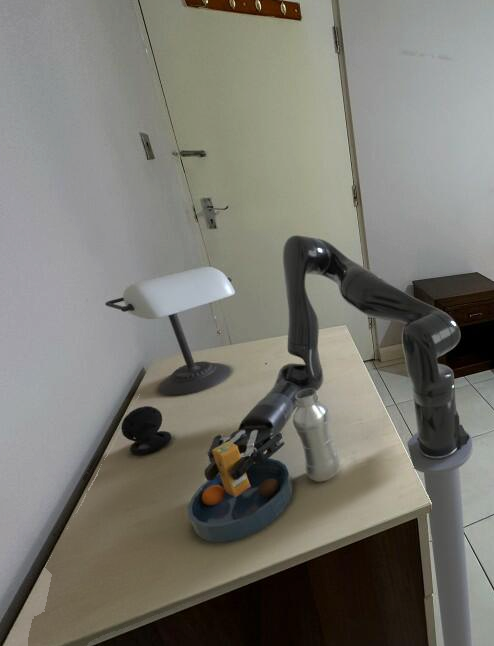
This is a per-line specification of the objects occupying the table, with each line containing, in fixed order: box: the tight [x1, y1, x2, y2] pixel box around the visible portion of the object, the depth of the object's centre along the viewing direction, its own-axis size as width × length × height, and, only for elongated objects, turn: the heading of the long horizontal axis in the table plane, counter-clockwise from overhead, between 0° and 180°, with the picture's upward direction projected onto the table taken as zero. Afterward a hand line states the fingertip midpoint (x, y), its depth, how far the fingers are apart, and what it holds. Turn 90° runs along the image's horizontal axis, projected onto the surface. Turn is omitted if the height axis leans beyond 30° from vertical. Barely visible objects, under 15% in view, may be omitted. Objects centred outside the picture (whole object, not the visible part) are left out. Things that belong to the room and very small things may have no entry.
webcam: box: [120, 405, 172, 456], centre depth 91 cm, size 8×8×10 cm
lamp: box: [105, 266, 236, 397], centre depth 112 cm, size 26×24×34 cm
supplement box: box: [212, 441, 250, 497], centre depth 75 cm, size 3×3×10 cm
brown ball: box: [259, 478, 280, 499], centre depth 77 cm, size 4×4×4 cm
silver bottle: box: [292, 388, 341, 483], centre depth 79 cm, size 6×7×20 cm
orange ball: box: [202, 485, 225, 506], centre depth 75 cm, size 4×4×4 cm
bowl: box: [187, 457, 293, 544], centre depth 75 cm, size 16×16×4 cm
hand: (221, 476), depth 72 cm, fingers closed on supplement box, 4 cm apart
